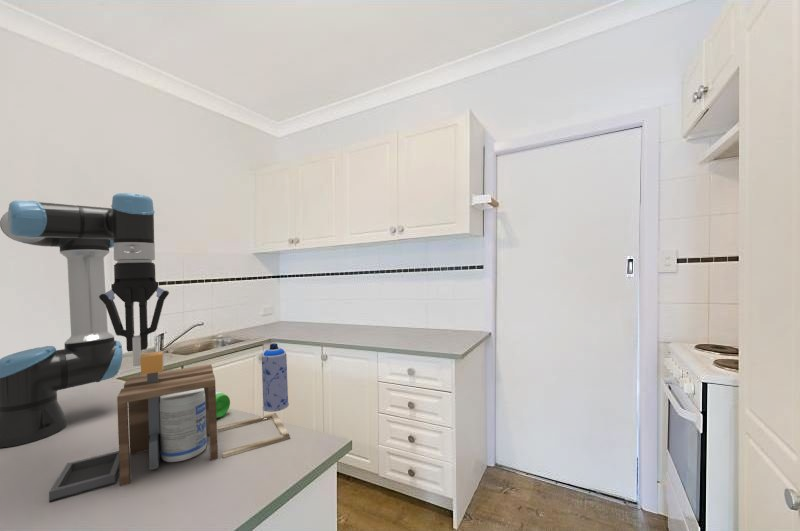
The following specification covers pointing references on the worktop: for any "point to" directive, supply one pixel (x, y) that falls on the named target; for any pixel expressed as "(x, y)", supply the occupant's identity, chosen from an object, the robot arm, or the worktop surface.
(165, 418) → the supplement tub
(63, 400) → the worktop surface
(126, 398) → the walnut tunnel
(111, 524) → the worktop surface
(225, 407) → the speaker
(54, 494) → the tray
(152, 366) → the slider
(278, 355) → the aerosol can
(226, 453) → the frame
